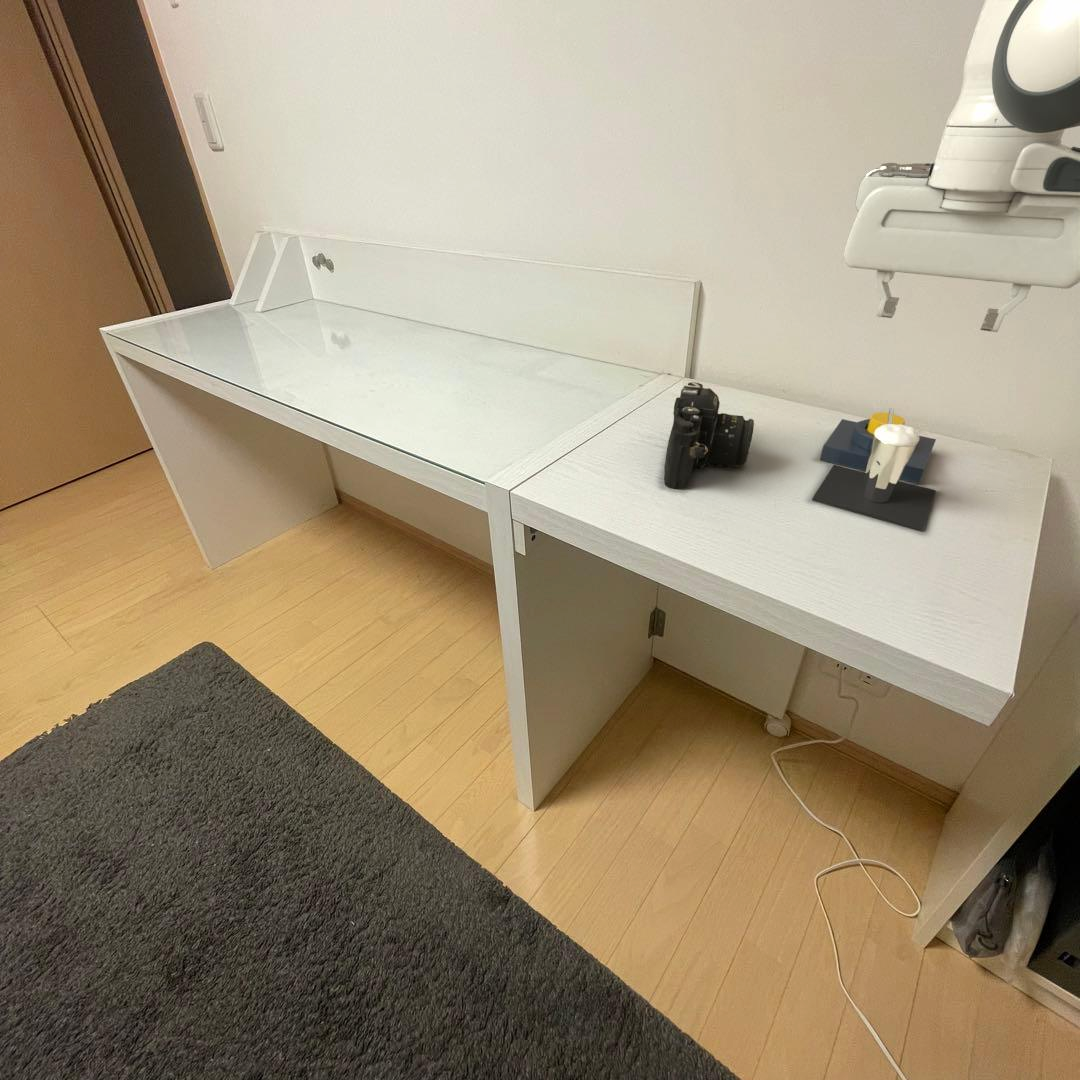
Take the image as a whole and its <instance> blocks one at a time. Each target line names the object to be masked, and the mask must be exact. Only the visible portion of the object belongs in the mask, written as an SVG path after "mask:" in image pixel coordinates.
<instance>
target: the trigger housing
mask: <svg viewBox="0 0 1080 1080" xmlns="http://www.w3.org/2000/svg"><path fill="white" fill-rule="evenodd" d="M870 419H871V418H868V419H862V420H859V421H853V420H848V419H844V418H842V419H841V420H840V421H839V422H838V424H837V426H836V427H835V429H833V431H832V433H831V434H830V435H829V437H828V439H827V440H826V441H825V443H824V444H823V446H822V450H821V453H820V456H819V461H821V462H826V463H829V464H833V465H837V466H841V467H845V468H849V469H853V470H857V471H861V472H866V468H867V464H868V460H869V456H870V451H871V446H872V441H873V436H874V434H871V433H869V432H868V431H867V428H868V425H869V422H870ZM919 438H920V439H919V442H918V443H917V445H916V447H915V449H914V451H913V453H912V455H911V457H910V459H909V461H908V462H907V464H906V466H905V469H904V471H903V473H902V475H901V477H900V479H899V481H901V482H905V483H909V484H913V485H917V486H919V484H920V482H921V479H922V478H923V475H924V472H925V469H926V467H927V464H928V461H929V459H930V456H931V454H932V451H933V449H934V446H935V443H936V441H937V438H932V437H927V436H923V435H919Z"/></svg>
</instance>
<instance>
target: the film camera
mask: <svg viewBox="0 0 1080 1080" xmlns="http://www.w3.org/2000/svg"><path fill="white" fill-rule="evenodd" d="M720 405H721V404H720V399H719V396H718V394H717V393H716V392H715V391H713V389H712V388H709V387H708V388H704V385H703V384H702V383H699V382H696V381H691V382H688V383H687V384H684V386H683V387H682V388H681V390H680V396H679V397H676V398H675V401H674V404H673V421H672V426H671V429H670V434H669V438H668V442H667V447H666V453H665V462H664V468H663V469H664V470H663V471H664V473H663V481H664V486H665V487H668V488H672V489H675V490H677V489H679V490H682V489H686V488H687V487H688V486H689V484H690V481H691V477H692V472H693V470H695V469H696V470H701V469H702V468H703V467H705V466H709V467H721V468H723V467H724V468H727V467H730V468H737V467H739V468H741V467H744V465H745V464H746V463H747V460H748V455H749V451H750V447H751V443H752V439H753V434H754V427H755V420H754V419H752V418H749V419H747V420H746V419H745V417H744V415H737V414H730V413H729V414H728V413H724V412H721V413H719V409H720Z"/></svg>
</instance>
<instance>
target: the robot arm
mask: <svg viewBox="0 0 1080 1080" xmlns="http://www.w3.org/2000/svg"><path fill="white" fill-rule="evenodd" d="M967 50H968V51H967V54H966V57H965V60H964V63H963V78H962V79H963V80H962V81H963V82H962V86H961V90H960V91H961V92H960V94H959V97H958V99H957V102H956V103H955V106H954V108H953V109H952V111H951V113H950V114H949V116H948V119H947V121H946V123H945V126H944V129H943V133H942V136H941V140H940V144H939V147H938V150H937V153H936V156H935V159H934V162H933V163H929V162H925V163H923V162H922V163H918V162H917V163H903V164H901V163H896V162H885V163H881V164H880V167H876V168H874V169H871V170H870V171H868V173H866V174H865V175H864V176H863V177H862V179H861V181H860V182H859V186H858V188H857V189H858V190H857V194H856V198H855V209H856V211H857V212H858V213H857V215H856V217H855V220H854V222H853V225H852V227H851V230H850V233H849V236H848V239H847V241H846V244H845V249H844V251H843V260H844V262H845V264H846V266H847V267H848V268H853V269H861V270H862V269H863V270H873V271H876V274H875V278H874V284H875V288H876V292H877V295H878V298H879V300H880V302H879V306H878V310H877V313H876V317H878V318H886V319H892V318H893V317H894V315H895V313H896V310H897V308H896V307H897V306H898V304H899V300H900V297H897V296H896V297H895V296H892V294H891V293H892V292H891V290H890V286H889V283H890V282H891V281H892V279H894V276H895V273H903V274H913V275H922V276H933V277H935V276H936V277H944V278H953V279H954V278H955V279H964V280H974V281H982V282H983V281H985V282H994V283H1005V284H1012V285H1011V288H1010V290H1009V294H1008V295H1009V296H1010V298H1009V299H1008V300H1007V301H1005V303H1003V304H1002V305H1001V306H1000V307H999V308H990V307H989V308H988V309H987V311H986V314H985V316H984V319H983V321H982V324H981V327H980V331H984V332H991V333H998V332H999V330H1000V327H1001V324H1002V323H1003V320H1004V318H1005V316H1006V315H1008V314H1009V313H1010V312H1011V311H1012V310H1013V309H1015V308H1016V307H1017V306H1018V305H1020V304H1021V303H1022V302H1023V301H1025V300H1026V298H1027V297H1028V294H1029V292H1030V289H1031V288H1032V286H1034V287H1035V286H1036V287H1045V288H1056V289H1064V290H1067V289H1071V288H1073V287H1075V286H1076V285H1078V284H1079V283H1080V147H1077V146H1072V147H1071V146H1067V145H1065V144H1062V137H1063V134H1064V132H1065V130H1067V129H1072V128H1076V127H1080V0H984V3H983V5H982V8H981V10H980V13H979V15H978V19H977V22H976V25H975V28H974V30H973V34H972V37H971V41H970V44H969V46H968V49H967ZM874 174H878V175H874Z"/></svg>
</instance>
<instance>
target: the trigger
mask: <svg viewBox="0 0 1080 1080" xmlns="http://www.w3.org/2000/svg"><path fill="white" fill-rule="evenodd" d="M888 416H889V412H884V411H883V412H882V411H881V412H875V413H872V414H871V416H870V418H869V419H870V422H869V425H868V428H867V431H868V432H869V433H871V434H874V432H875V430H876V429H877V428H878V427H880V426H882V425H884V424H888ZM905 423H906V419H904V417H902V416H900V415H898V414H895V413H893V418H892V424H896V425H899V424H902V425H905Z"/></svg>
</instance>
